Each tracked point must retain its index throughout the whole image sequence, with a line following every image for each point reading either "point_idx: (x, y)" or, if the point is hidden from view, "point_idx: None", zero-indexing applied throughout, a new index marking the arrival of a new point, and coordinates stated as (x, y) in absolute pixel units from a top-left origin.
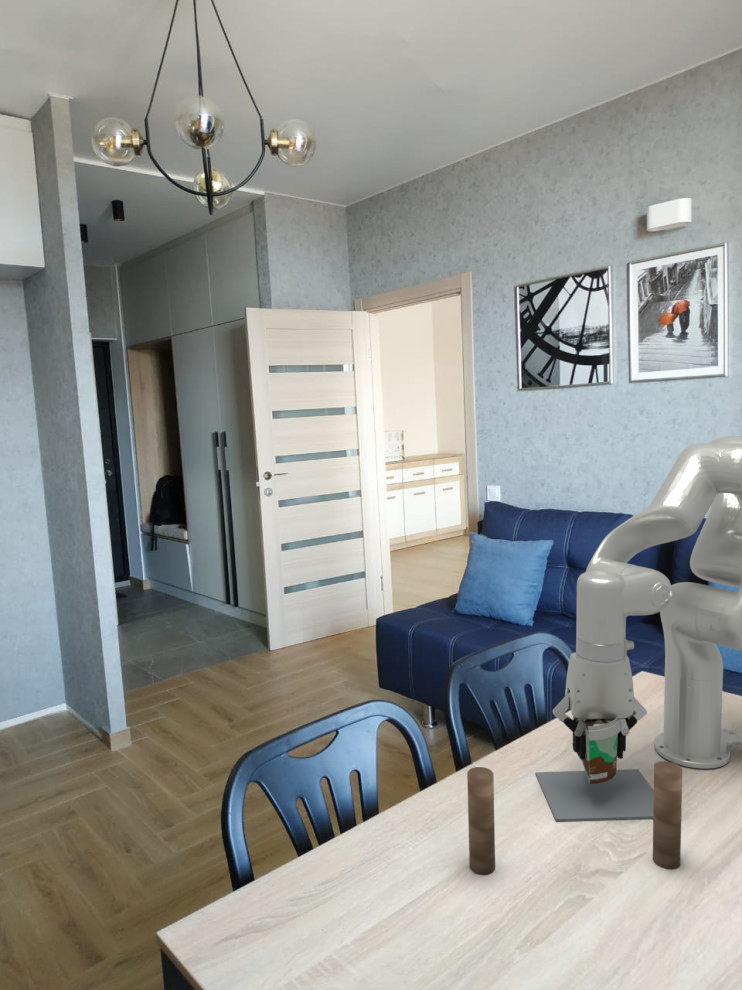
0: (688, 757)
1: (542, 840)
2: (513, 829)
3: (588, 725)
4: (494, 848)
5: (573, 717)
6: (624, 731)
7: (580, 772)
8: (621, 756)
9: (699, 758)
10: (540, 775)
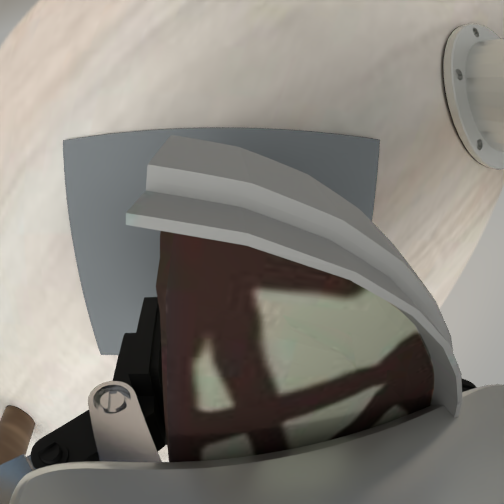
0: (482, 137)
1: (81, 390)
2: (32, 361)
3: None
4: (27, 447)
5: (100, 455)
6: None
7: (203, 137)
8: None
9: (493, 148)
10: (73, 158)
